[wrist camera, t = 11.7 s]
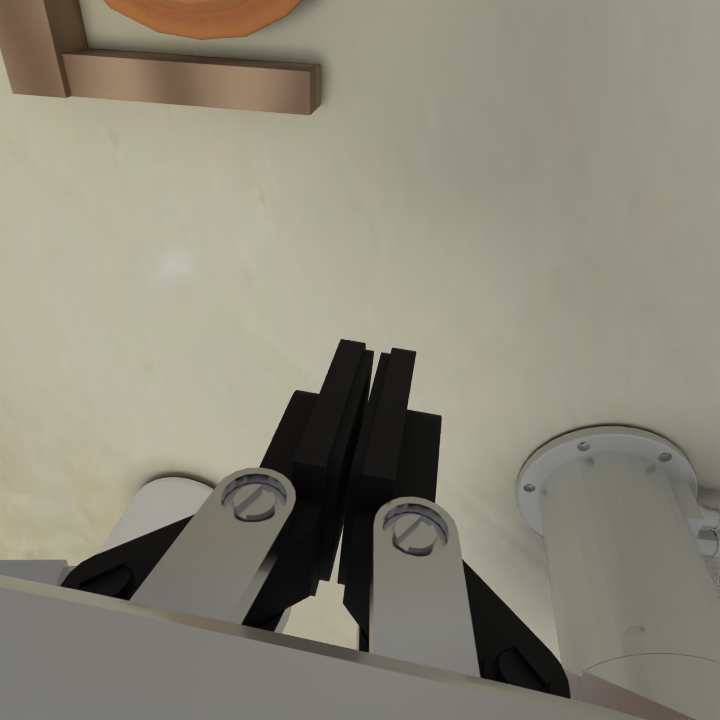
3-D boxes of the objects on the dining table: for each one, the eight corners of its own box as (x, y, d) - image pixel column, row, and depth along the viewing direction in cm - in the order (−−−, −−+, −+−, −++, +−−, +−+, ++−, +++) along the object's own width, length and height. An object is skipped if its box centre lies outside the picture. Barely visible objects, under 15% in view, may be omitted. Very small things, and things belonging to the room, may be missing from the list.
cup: (123, 469, 51) (57, 565, 43) (227, 469, 49) (179, 570, 41) (160, 543, 56) (108, 640, 48) (255, 545, 54) (218, 648, 46)
